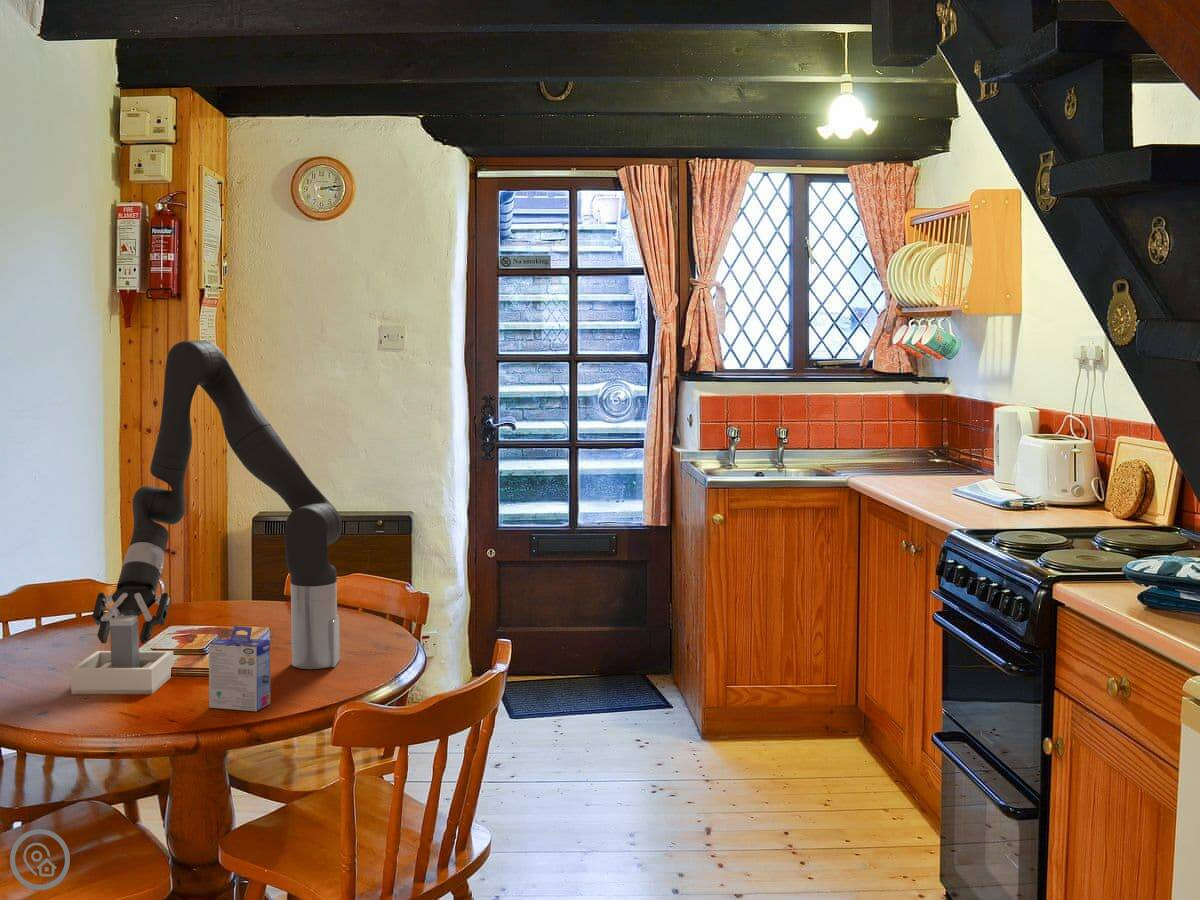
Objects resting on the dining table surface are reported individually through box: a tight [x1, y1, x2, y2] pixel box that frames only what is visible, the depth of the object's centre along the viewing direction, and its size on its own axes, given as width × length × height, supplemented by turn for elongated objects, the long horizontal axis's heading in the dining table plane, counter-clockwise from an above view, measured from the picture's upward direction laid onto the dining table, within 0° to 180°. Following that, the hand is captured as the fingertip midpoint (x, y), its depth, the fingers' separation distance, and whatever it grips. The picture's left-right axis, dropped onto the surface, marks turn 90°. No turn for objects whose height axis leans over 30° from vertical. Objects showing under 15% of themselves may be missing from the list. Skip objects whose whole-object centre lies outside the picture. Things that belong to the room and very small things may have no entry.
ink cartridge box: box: [208, 625, 272, 712], centre depth 219 cm, size 10×6×14 cm, turn 78°
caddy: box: [70, 650, 175, 695], centre depth 233 cm, size 15×13×5 cm
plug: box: [109, 615, 140, 668], centre depth 233 cm, size 4×4×12 cm
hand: (122, 641), depth 232 cm, fingers open, 7 cm apart
